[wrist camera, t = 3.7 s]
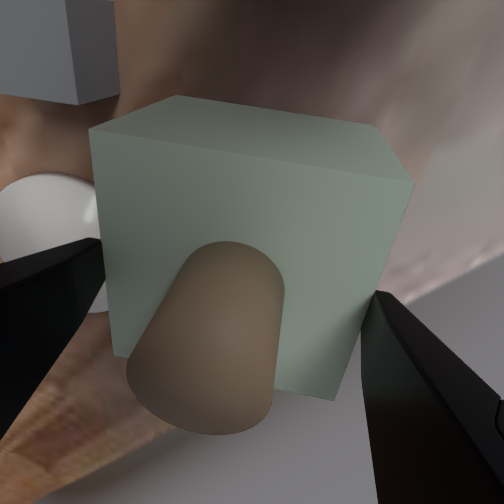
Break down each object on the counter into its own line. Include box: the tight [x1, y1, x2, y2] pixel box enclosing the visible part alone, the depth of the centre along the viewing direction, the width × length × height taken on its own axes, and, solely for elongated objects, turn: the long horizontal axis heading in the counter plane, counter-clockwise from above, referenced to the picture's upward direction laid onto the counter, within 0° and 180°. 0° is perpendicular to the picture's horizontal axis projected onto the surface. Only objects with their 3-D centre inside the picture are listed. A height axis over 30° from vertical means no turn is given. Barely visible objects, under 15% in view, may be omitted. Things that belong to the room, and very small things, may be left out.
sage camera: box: [88, 95, 415, 435], centre depth 10 cm, size 7×7×8 cm
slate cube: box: [0, 0, 120, 105], centre depth 16 cm, size 4×4×4 cm
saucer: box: [0, 172, 109, 313], centre depth 24 cm, size 10×10×1 cm
